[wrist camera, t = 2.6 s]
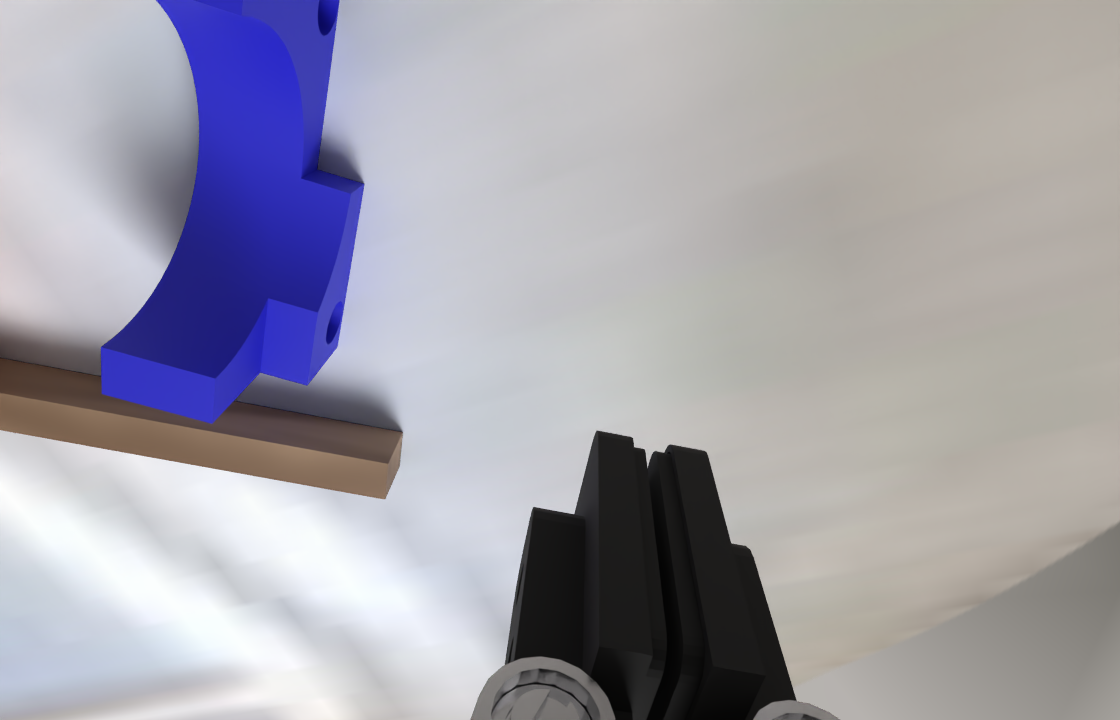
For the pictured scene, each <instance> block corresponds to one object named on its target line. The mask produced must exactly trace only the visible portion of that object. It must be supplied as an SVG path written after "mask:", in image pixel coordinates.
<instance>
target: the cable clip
mask: <svg viewBox="0 0 1120 720" xmlns="http://www.w3.org/2000/svg"><path fill="white" fill-rule="evenodd" d="M156 1H157V2H158V3H159V4H160V5H161V7H162V8H163V9H164V11H165V12H166V13H167V15H168V16H169V18H170V19H171V21H172V23H173V25H174V26H175V28H176V30H177V32H178V34H179V36H180V38H181V40H182V42H183V45H184V48H185V50H186V53H187V56H188V59H189V62H190V66H191V70H192V73H193V78H194V83H195V88H196V94H197V102H198V113H199V155H198V165H197V173H196V180H195V186H194V191H193V196H192V200H191V205H190V208H189V212H188V216H187V219H186V223H185V226H184V229H183V232H182V235H181V237H180V240H179V242H178V245H177V248H176V250H175V252H174V254H173V257H172V259H171V261H170V263H169V265H168V267H167V269H166V271H165V273H164V275H163V277H162V279H161V280H160V282H159V283H158V285H157V287H156V288H155V290H154V292H153V293H152V295H151V296H150V297H149V299H148V300H147V302H146V303H145V305H144V306H143V307H142V308H141V310H140V311H139V312H138V313H137V314H136V316H135V317H134V318H133V319H132V320H131V321H130V322H129V323H128V324H127V325H126V326H125V328H124V329H122V330H121V331H120V332H119V333H118V334H117V335H116V336H115V337H113V338H112V339H111V340H110V341H108V342H107V343H106V344H104V345H103V346H102V347H101V379H102V394H103V395H107V396H111V397H115V398H118V399H122V400H126V401H129V402H133V403H137V404H140V405H144V406H148V407H152V408H155V409H159V410H163V411H166V412H170V413H174V414H177V415H181V416H185V417H189V418H192V419H196V420H200V421H203V422H207V423H211V424H213V422H214V421H215V420H216V419H217V418H218V417H219V416H220V415H221V414H222V413H223V412H224V411H225V410H226V409H227V408H228V406H229V405H230V404H231V403H232V402H233V401H234V400H235V399H236V398H237V397H238V396H239V395H240V394H241V393H242V391H243V390H244V389H245V388H246V387H247V386H248V385H249V384H250V383H251V382H252V381H253V380H254V379H255V378H256V377H257V375H258V374H259V373H264V374H267V375H271V376H275V377H278V378H282V379H285V380H289V381H293V382H296V383H300V384H303V385H308V384H309V383H310V381H311V380H312V379H313V378H314V376H315V375H316V374H317V372H318V371H319V370H320V369H321V367H322V366H323V365H324V363H325V362H326V361H327V360H328V358H329V357H330V356H331V354H332V353H333V352H334V351H335V349H336V348H337V346H338V340H339V334H340V328H341V322H342V316H343V310H344V304H345V298H346V292H347V286H348V280H349V274H350V268H351V262H352V256H353V250H354V244H355V238H356V232H357V225H358V219H359V213H360V207H361V201H362V195H363V189H364V184H363V183H360V182H357V181H353V180H350V179H347V178H344V177H340V176H337V175H334V174H331V173H327V172H324V171H321V170H318V169H317V167H318V160H319V152H320V144H321V137H322V129H323V122H324V114H325V107H326V99H327V91H328V84H329V76H330V69H331V61H332V53H333V46H334V38H335V31H336V23H337V16H338V8H339V0H156Z"/></svg>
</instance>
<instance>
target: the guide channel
mask: <svg viewBox="0 0 1120 720" xmlns="http://www.w3.org/2000/svg"><path fill="white" fill-rule="evenodd" d="M0 430H3V431H9V432H14V433H20V434H25V435H31V436H36V437H42V438H47V439H53V440H58V441H64V442H69V443H75V444H81V445H86V446H92V447H97V448H103V449H108V450H114V451H119V452H125V453H130V454H136V455H142V456H147V457H153V458H158V459H164V460H169V461H175V462H180V463H186V464H191V465H197V466H202V467H208V468H214V469H219V470H225V471H230V472H236V473H241V474H247V475H252V476H258V477H263V478H269V479H274V480H280V481H286V482H291V483H297V484H302V485H308V486H313V487H319V488H324V489H330V490H335V491H341V492H346V493H352V494H358V495H363V496H369V497H374V498H380V499H385V498H386V496H387V494H388V492H389V489H390V487H391V485H392V482H393V480H394V478H395V475H396V473H397V471H398V469H399V466H400V456H401V445H402V435H403V432H398V431H392V430H387V429H382V428H376V427H371V426H365V425H360V424H355V423H349V422H344V421H338V420H333V419H328V418H322V417H317V416H311V415H306V414H300V413H295V412H290V411H284V410H279V409H273V408H268V407H263V406H257V405H252V404H246V403H241V402H236V401H233V402H232V403H231V404H230V405H229V406H228V408H227V409H226V410H225V411H224V412H223V413H222V414H221V415H220V416H219V417H218V418H217V419H216V420H215V421H214V422H213V424H211V423H207V422H203V421H200V420H196V419H192V418H189V417H185V416H181V415H177V414H174V413H170V412H166V411H163V410H159V409H155V408H152V407H148V406H144V405H140V404H137V403H133V402H129V401H126V400H122V399H118V398H115V397H111V396H107V395H103V394H102V379H101V377H100V376H95V375H90V374H84V373H79V372H73V371H68V370H63V369H57V368H52V367H46V366H41V365H36V364H30V363H25V362H19V361H14V360H9V359H3V358H0Z"/></svg>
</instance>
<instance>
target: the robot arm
mask: <svg viewBox="0 0 1120 720" xmlns="http://www.w3.org/2000/svg"><path fill="white" fill-rule="evenodd" d="M471 720H839V719H838V718H837V717H835V716H834V715H832V714H831V713H829V712H827V711H825V710H823V709H820V708H818V707H816V706H814V705H811V704H808V703H803V702H797V701H796V697H795V694H794V691H793V687H792V684H791V681H790V677H789V674H788V671H787V667H786V664H785V661H784V657H783V654H782V651H781V647H780V644H779V641H778V637H777V634H776V631H775V627H774V624H773V621H772V617H771V614H770V611H769V607H768V604H767V601H766V597H765V594H764V591H763V587H762V584H761V581H760V577H759V574H758V571H757V567H756V564H755V561H754V557H753V555H752V553H751V551H750V549H749V548H747V547H746V546H742V545H737V544H731V541H730V537H729V534H728V530H727V526H726V522H725V519H724V515H723V511H722V507H721V503H720V500H719V496H718V492H717V488H716V484H715V481H714V477H713V473H712V469H711V466H710V462H709V458H708V455H707V453H706V452H705V451H702V450H697V449H691V448H686V447H681V446H676V445H669V446H668V447H667V448H666V450H665V453H662V452H657V451H654V452H653V454H652V456H651V459H650V462H649V465H648V469H647V462H646V453H645V450H644V449H641V448H635V447H634V442H633V438H632V437H628V436H623V435H618V434H612V433H607V432H602V431H596V433H595V436H594V439H593V443H592V446H591V450H590V454H589V458H588V462H587V466H586V470H585V474H584V478H583V482H582V486H581V490H580V494H579V498H578V502H577V506H576V510H575V514H569V513H563V512H558V511H552V510H547V509H541V508H536V507H533V509H532V513H531V517H530V521H529V526H528V530H527V535H526V540H525V544H524V549H523V554H522V559H521V564H520V569H519V575H518V580H517V586H516V592H515V599H514V605H513V612H512V619H511V626H510V633H509V640H508V647H507V654H506V660H505V665H504V666H502V667H501V668H500V669H499V670H498V671H497V672H496V673H494V674H493V675H492V676H491V677H490V678H489V679H488V681H487V682H486V684H485V686H484V688H483V689H482V691H481V693H480V695H479V697H478V700H477V703H476V706H475V709H474V711H473V714H472V717H471Z"/></svg>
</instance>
